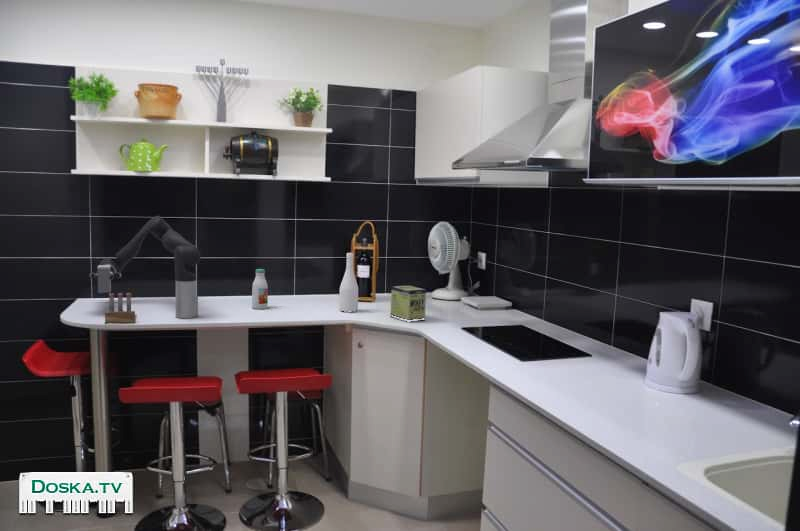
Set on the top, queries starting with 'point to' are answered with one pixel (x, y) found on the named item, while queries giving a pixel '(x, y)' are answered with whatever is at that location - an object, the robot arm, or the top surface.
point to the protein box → (408, 302)
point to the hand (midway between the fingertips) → (103, 277)
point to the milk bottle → (260, 291)
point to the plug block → (104, 279)
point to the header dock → (120, 310)
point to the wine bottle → (348, 288)
